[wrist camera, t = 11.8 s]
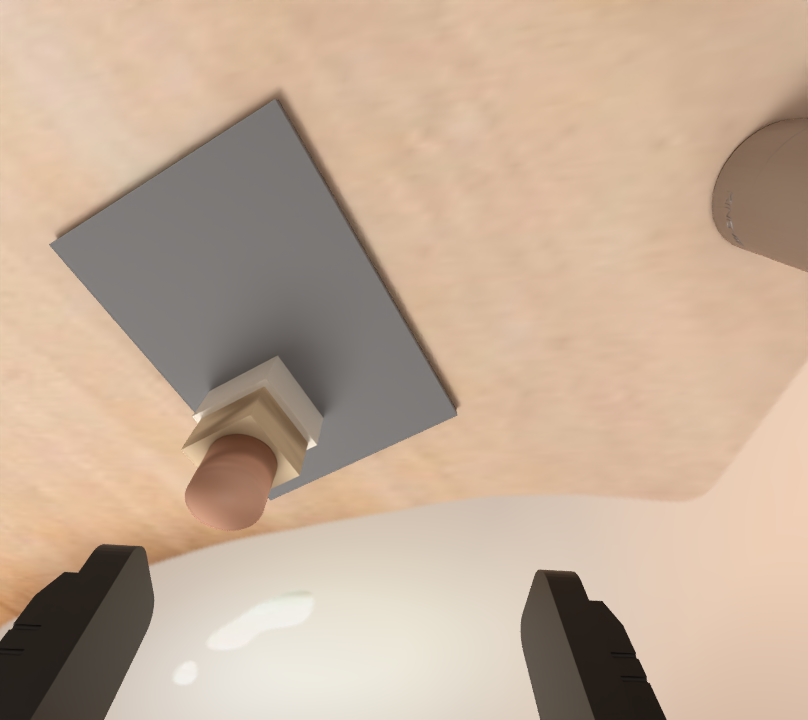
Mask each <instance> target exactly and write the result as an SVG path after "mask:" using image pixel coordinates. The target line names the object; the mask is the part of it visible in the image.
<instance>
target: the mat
mask: <svg viewBox="0 0 808 720" xmlns="http://www.w3.org/2000/svg"><path fill="white" fill-rule="evenodd" d="M49 245H50V246H51V248H52V249H53V250H54V251H55V252H56V253H57V254H58V256H59V257H60V258H61V259H62V260H63V261H64V263H65V264H66V265H67V266H68V267H69V268H70V269H71V271H72V272H73V273H74V274H75V275H76V276H77V278H78V279H79V280H80V281H81V282H82V283H83V284H84V286H85V287H86V288H87V289H88V290H89V291H90V293H91V294H92V295H93V296H94V297H95V298H96V299H97V301H98V302H99V303H100V304H101V305H102V306H103V308H104V309H105V310H106V311H107V312H108V313H109V314H110V316H111V317H112V318H113V319H114V320H115V321H116V323H117V324H118V325H119V326H120V327H121V328H122V329H123V331H124V332H125V333H126V334H127V335H128V336H129V338H130V339H131V340H132V341H133V342H134V343H135V344H136V346H137V347H138V348H139V349H140V350H141V351H142V353H143V354H144V355H145V356H146V357H147V358H148V359H149V361H150V362H151V363H152V364H153V365H154V366H155V367H156V369H157V370H158V371H159V372H160V373H161V374H162V376H163V377H164V378H165V379H166V380H167V381H168V382H169V384H170V385H171V386H172V387H173V388H174V389H175V391H176V392H177V393H178V394H179V395H180V396H181V397H182V399H183V400H184V401H185V402H186V403H187V404H188V406H189V407H190V408H191V409H192V410H193V411H194V412H196V410H197V409H198V407H199V406H200V404H201V403H202V401H203V400H204V398H205V397H206V395H207V394H208V393H209V391H211V390H212V389H214V388H216V387H218V386H220V385H222V384H224V383H226V382H228V381H230V380H232V379H233V378H235V377H237V376H239V375H241V374H243V373H245V372H247V371H249V370H251V369H253V368H254V367H256V366H258V365H260V364H262V363H264V362H266V361H268V360H270V359H272V358H274V357H275V356H277V355H278V357H279V358H280V359H281V361H282V362H283V363H284V365H285V366H286V367H287V369H288V370H289V372H290V373H291V374H292V376H293V377H294V378H295V380H296V381H297V383H298V384H299V385H300V387H301V388H302V389H303V391H304V392H305V393H306V395H307V396H308V398H309V399H310V400H311V402H312V403H313V404H314V406H315V407H316V409H317V410H318V411H319V413H320V414H321V415H322V417H323V422H322V426H321V430H320V435H319V439H318V443H317V445H316V446H314V447H312V448H310V449H308V450H306V454H305V457H304V461H303V465H302V469H301V473H300V476H298V477H296V478H293V479H291V480H289V481H287V482H285V483H283V484H281V485H278V486H276V487H274V488H272V489H271V490H270V493H269V496H268V498H269V499H270V500H272V499H275V498H277V497H279V496H281V495H283V494H286V493H288V492H290V491H292V490H294V489H297V488H299V487H301V486H303V485H305V484H308V483H310V482H312V481H314V480H316V479H319V478H321V477H323V476H325V475H327V474H330V473H332V472H334V471H336V470H338V469H341V468H343V467H345V466H347V465H349V464H352V463H354V462H356V461H358V460H360V459H363V458H365V457H367V456H369V455H371V454H374V453H376V452H378V451H380V450H382V449H385V448H387V447H389V446H391V445H393V444H396V443H398V442H400V441H402V440H404V439H407V438H409V437H411V436H413V435H415V434H418V433H420V432H422V431H424V430H426V429H429V428H431V427H433V426H435V425H437V424H440V423H442V422H444V421H446V420H448V419H451V418H453V417H455V416H457V411H456V408H455V407H454V405H453V403H452V401H451V400H450V398H449V396H448V394H447V393H446V391H445V389H444V388H443V386H442V384H441V382H440V381H439V379H438V377H437V375H436V374H435V372H434V370H433V368H432V367H431V365H430V363H429V361H428V360H427V358H426V356H425V354H424V353H423V351H422V349H421V347H420V346H419V344H418V342H417V341H416V339H415V337H414V335H413V334H412V332H411V330H410V328H409V327H408V325H407V323H406V321H405V320H404V318H403V316H402V314H401V313H400V311H399V309H398V307H397V306H396V304H395V302H394V300H393V299H392V297H391V295H390V293H389V292H388V290H387V288H386V287H385V285H384V283H383V281H382V280H381V278H380V276H379V274H378V273H377V271H376V269H375V267H374V266H373V264H372V262H371V260H370V259H369V257H368V255H367V253H366V252H365V250H364V248H363V246H362V245H361V243H360V241H359V240H358V238H357V236H356V234H355V233H354V231H353V229H352V227H351V226H350V224H349V222H348V220H347V219H346V217H345V215H344V213H343V212H342V210H341V208H340V206H339V205H338V203H337V201H336V199H335V198H334V196H333V194H332V193H331V191H330V189H329V187H328V186H327V184H326V182H325V180H324V179H323V177H322V175H321V173H320V172H319V170H318V168H317V166H316V165H315V163H314V161H313V159H312V158H311V156H310V154H309V152H308V151H307V149H306V147H305V145H304V144H303V142H302V140H301V139H300V137H299V135H298V133H297V132H296V130H295V128H294V126H293V125H292V123H291V121H290V119H289V118H288V116H287V114H286V112H285V111H284V109H283V107H282V105H281V104H280V102H279V100H277V99H274V100H273V101H271V102H270V103H268V104H266V105H265V106H263V107H262V108H260V109H259V110H257V111H256V112H254V113H252V114H251V115H249V116H248V117H246V118H245V119H243V120H242V121H240V122H238V123H237V124H235V125H234V126H232V127H231V128H229V129H228V130H226V131H225V132H223V133H221V134H220V135H218V136H217V137H215V138H214V139H212V140H211V141H209V142H207V143H206V144H204V145H203V146H201V147H200V148H198V149H197V150H195V151H193V152H192V153H190V154H189V155H187V156H186V157H184V158H183V159H181V160H180V161H178V162H176V163H175V164H173V165H172V166H170V167H169V168H167V169H166V170H164V171H162V172H161V173H159V174H158V175H156V176H155V177H153V178H152V179H150V180H149V181H147V182H145V183H144V184H142V185H141V186H139V187H138V188H136V189H135V190H133V191H131V192H130V193H128V194H127V195H125V196H124V197H122V198H121V199H119V200H117V201H116V202H114V203H113V204H111V205H110V206H108V207H107V208H105V209H104V210H102V211H100V212H99V213H97V214H96V215H94V216H93V217H91V218H90V219H88V220H86V221H85V222H83V223H82V224H80V225H79V226H77V227H76V228H74V229H72V230H71V231H69V232H68V233H66V234H65V235H63V236H62V237H60V238H59V239H57V240H55V241H54V242H52V243H51V244H49Z"/></svg>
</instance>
